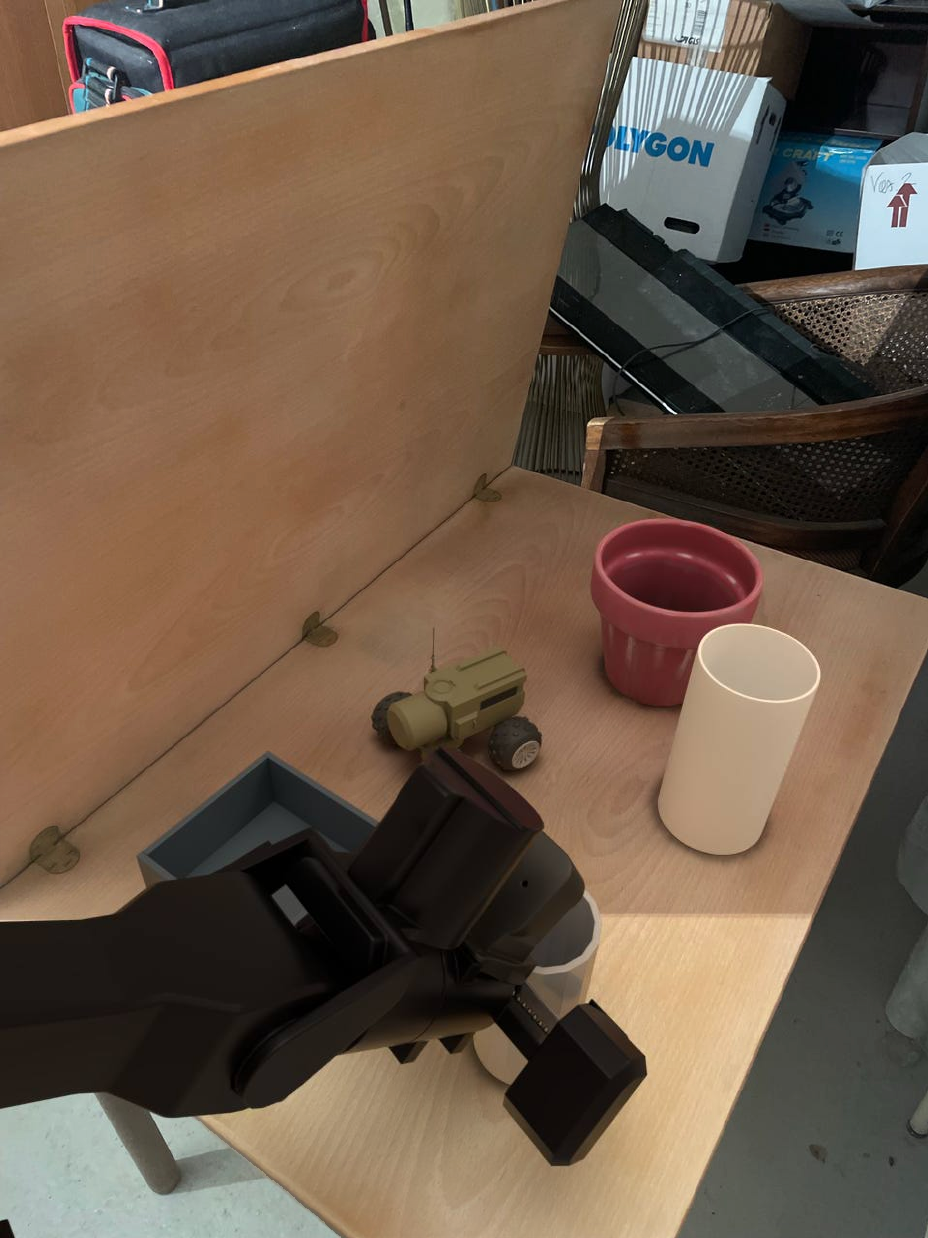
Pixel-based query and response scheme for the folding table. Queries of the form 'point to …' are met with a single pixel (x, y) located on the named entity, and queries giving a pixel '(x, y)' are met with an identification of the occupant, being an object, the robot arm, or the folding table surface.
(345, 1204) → the folding table surface
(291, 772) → the open box
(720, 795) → the cup
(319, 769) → the folding table surface
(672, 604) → the flower pot
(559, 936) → the tumbler
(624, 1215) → the folding table surface
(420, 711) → the toy vehicle
